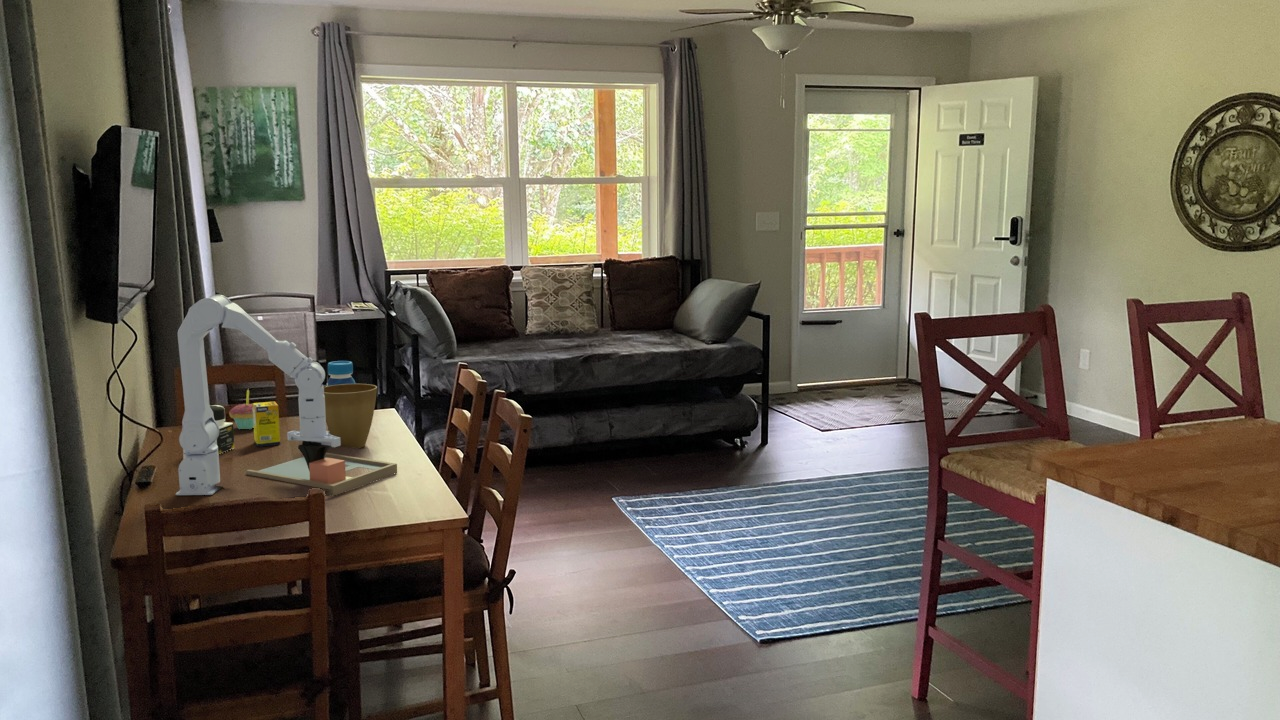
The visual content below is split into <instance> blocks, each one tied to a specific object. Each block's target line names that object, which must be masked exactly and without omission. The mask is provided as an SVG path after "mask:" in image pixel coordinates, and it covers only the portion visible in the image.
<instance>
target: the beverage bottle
mask: <svg viewBox="0 0 1280 720" xmlns="http://www.w3.org/2000/svg"><path fill="white" fill-rule="evenodd" d="M327 373H328V376H330V377H329V378H328V380H327V381H326V386H332V385H340V384H357V382H356V381H355V379H354V378H353V376H352V375H353V373H354V364H353V362H352V361H349V360H337V361H336V360H335V361H330V362H328V363H327ZM326 386H325V387H326ZM327 431H328V432H329V429H328V428H327ZM329 434H330V432H329Z"/></svg>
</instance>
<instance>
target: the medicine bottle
mask: <svg viewBox="0 0 1280 720" xmlns="http://www.w3.org/2000/svg"><path fill="white" fill-rule="evenodd" d="M210 408H211V409H212V411H213V415H214V420H215V422H216V423H217V424H218V426H219V436H218V438H217V439H216V440H215V443H216V445H217V446H218V455H219V454H220V455H222V454H224V453H223V452H225V453H227V452H229V451H228V450H230V451H231V449H232V450H234V449H235V448H236V447H235V433H234V423H233V422H227V421H226V411H225V407H224V406H222V405H218V404H214V405H211V404H210ZM226 451H227V452H226ZM221 453H222V454H221ZM220 455H219V456H220Z"/></svg>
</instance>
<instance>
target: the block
mask: <svg viewBox="0 0 1280 720" xmlns="http://www.w3.org/2000/svg"><path fill="white" fill-rule="evenodd" d="M345 467H346V465H345V460H339V459H333V458H324V459H321V460H317V461H314V462H311V463H309V470H310V480H312V481H317V482H323V483H329V484H334V483H337V482H340V481H343V480H346V472H347V471H345Z"/></svg>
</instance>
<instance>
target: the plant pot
mask: <svg viewBox="0 0 1280 720" xmlns="http://www.w3.org/2000/svg"><path fill="white" fill-rule="evenodd" d="M323 387H324V396H325V413H326V427H327V430H328V429H329V432H330V433H329V434H331V435H333V436H336V437H340V442H341V445H340V446H339V447H345V448H352V449H357V450H358V449H360V448H364V447H365V446H366V443H367V440H368V437H369V434H370V430H371V427H372V424H373V418H374V414H375V407H376V401H377V393H378V392H377V390H378V386H377V385H375V384H369V383H368V384H367V383H356V384H340V385H332V386H323Z"/></svg>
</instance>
